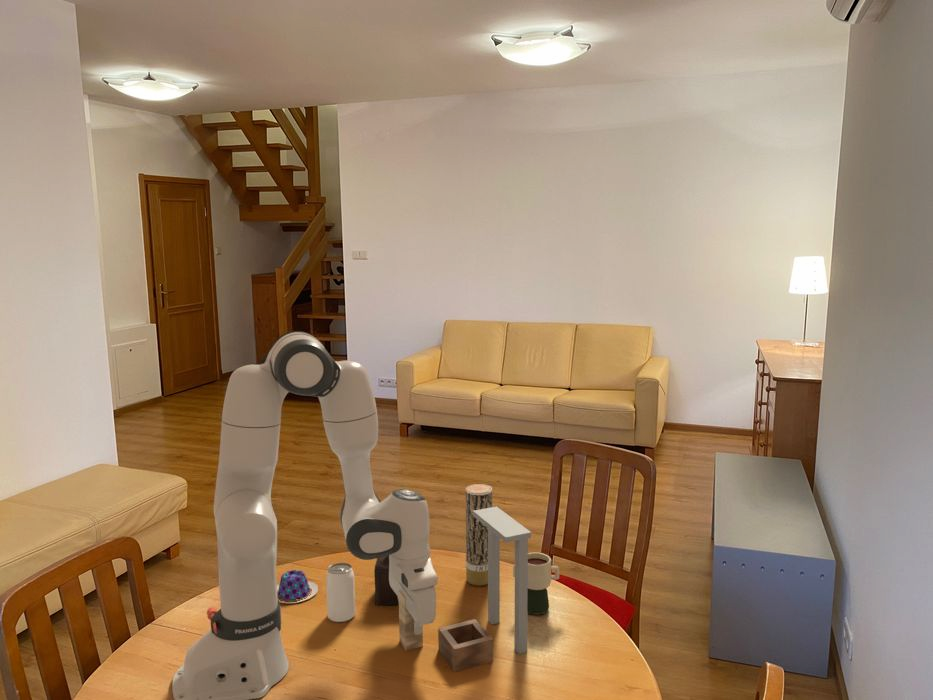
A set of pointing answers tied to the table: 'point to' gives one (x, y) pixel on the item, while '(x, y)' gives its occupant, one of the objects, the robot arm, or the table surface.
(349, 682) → the table surface
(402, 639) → the peg
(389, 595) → the manual coffee grinder
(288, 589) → the pudding
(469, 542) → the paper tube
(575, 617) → the table surface
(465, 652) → the socket
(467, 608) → the table surface
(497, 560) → the u-shaped bar frame
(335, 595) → the can
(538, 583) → the character mug
